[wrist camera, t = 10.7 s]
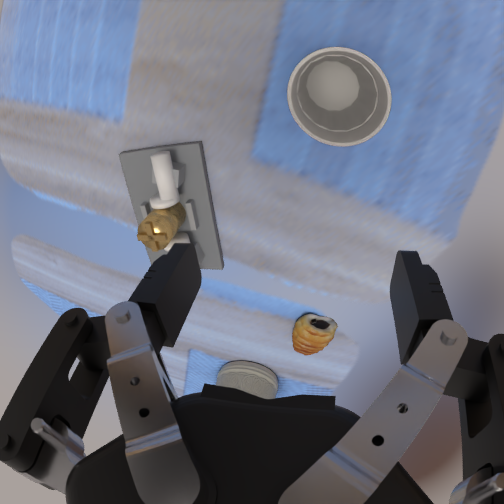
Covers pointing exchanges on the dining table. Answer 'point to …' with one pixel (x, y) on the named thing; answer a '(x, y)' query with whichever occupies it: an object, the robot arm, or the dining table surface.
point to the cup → (339, 96)
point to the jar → (249, 378)
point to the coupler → (161, 226)
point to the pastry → (312, 333)
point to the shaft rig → (175, 195)
